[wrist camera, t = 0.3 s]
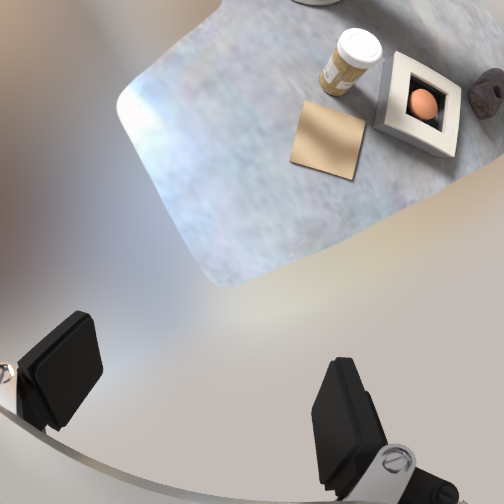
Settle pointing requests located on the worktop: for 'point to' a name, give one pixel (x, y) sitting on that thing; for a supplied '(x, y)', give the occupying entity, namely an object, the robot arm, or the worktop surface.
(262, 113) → the worktop surface
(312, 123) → the coaster
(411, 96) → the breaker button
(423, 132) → the grey square open box
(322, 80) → the sprinkles bottle
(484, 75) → the perforated stone tool
